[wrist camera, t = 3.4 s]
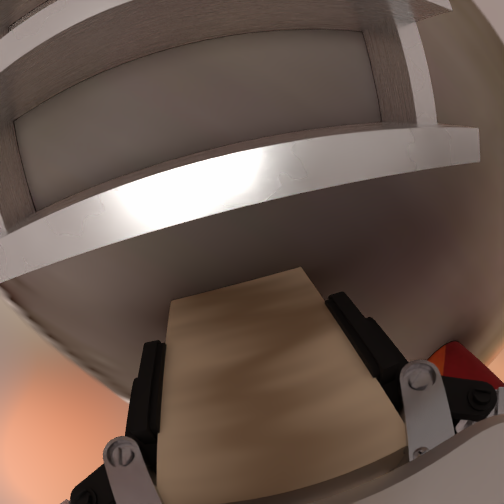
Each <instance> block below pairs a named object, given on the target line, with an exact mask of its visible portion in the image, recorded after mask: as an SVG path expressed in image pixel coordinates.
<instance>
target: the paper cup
mask: <svg viewBox="0 0 504 504" xmlns="http://www.w3.org/2000/svg"><path fill="white" fill-rule="evenodd" d="M427 361H429V362H431V363H433V364H434V365H435V366H436V367H437V368H438V369H439V371H440V374H441V375H442V376H448V377H455V378H462V379H470V380H478V381H484V382H488V383H489V384H491V385H492V386H493V387H494V389H498V388H499V387H504V383H503V382H502V381H501V380H500V379H499V378H498V377H497V376H496V375H495V374H494V373H493V372H491V371H490V370H489V369H488V368H487V367H486V366H485V365H484V364H483V363H482V362H481V361H480V360H479V359H478V358H476V357H475V356H474V355H473V354H472V353H471V352H470V351H469V350H467V349H466V348H465V347H464V346H463V345H461V344H460V343H459V342H457V341H452V342H449V343H447V344H446V345H444V346H443V347H441V348H440V349H439V350H437V351H436V352H435V353H434V354H433V355H432V356H431V357H430V358H429V359H428V360H427Z"/></svg>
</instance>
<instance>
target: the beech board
mask: <svg viewBox="0 0 504 504" xmlns="http://www.w3.org/2000/svg"><path fill="white" fill-rule="evenodd" d="M165 344H166V345H167V346H166V355H165V365H164V376H163V388H162V402H161V419H160V433H158V440H157V489H158V491H159V493H160V495H161V497H162V500H163V502H164V504H308V503H312V502H315V501H318V500H322V499H325V498H328V497H331V496H334V495H337V494H339V493H342V492H345V491H348V490H350V489H353V488H355V487H358V486H360V485H363V484H365V483H367V482H370V481H372V480H374V479H376V478H379V477H381V476H383V475H385V474H387V473H388V472H389V470H391V469H393V468H395V467H396V466H397V465H398V463H399V462H400V461H401V459H402V458H403V456H404V455H405V454H403V450H404V449H405V447H406V434H405V424H404V422H403V420H402V419H401V417H400V416H399V414H398V412H397V411H396V409H395V407H394V406H393V404H392V403H391V401H390V399H389V398H388V396H387V395H386V393H385V392H384V390H383V388H382V387H381V385H380V384H379V382H378V381H377V379H376V377H375V378H373V377H372V375H371V374H370V372H369V371H368V369H367V368H366V366H365V364H364V363H363V361H362V360H361V358H360V357H359V355H358V354H357V352H356V350H355V349H354V347H353V346H352V344H351V343H350V341H349V340H348V338H347V337H346V335H345V334H344V332H343V331H342V329H341V328H340V326H339V325H338V323H337V322H336V320H335V319H334V317H333V316H332V314H331V313H330V311H329V310H328V308H327V307H326V305H325V301H324V299H323V298H322V296H321V295H320V293H319V292H318V291H317V289H316V288H315V286H314V285H313V283H312V282H311V280H310V279H309V278H308V276H307V275H306V273H305V272H304V270H303V269H302V268H301V267H298V268H295V269H291V270H287V271H284V272H280V273H276V274H273V275H269V276H265V277H262V278H258V279H254V280H251V281H247V282H243V283H239V284H235V285H232V286H228V287H224V288H220V289H216V290H212V291H208V292H204V293H200V294H196V295H192V296H188V297H184V298H180V299H176V300H172V301H171V304H170V311H169V318H168V326H167V334H166V342H165Z"/></svg>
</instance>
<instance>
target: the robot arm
mask: <svg viewBox="0 0 504 504" xmlns="http://www.w3.org/2000/svg"><path fill="white" fill-rule="evenodd" d="M325 305H326V307H327V308H328V310H329V311H330V313H331V314H332V316H333V317H334V319H335V320H336V322H337V323H338V325H339V326H340V328H341V329H342V331H343V332H344V334H345V335H346V337H347V338H348V340H349V341H350V343H351V344H352V346H353V347H354V349H355V350H356V352H357V354H358V355H359V357H360V358H361V360H362V361H363V363H364V364H365V366H366V368H367V369H368V371H369V372H370V374H371V375H372V377H373V378H375V377H376V379H377V381H378V382H379V384H380V385H381V387H382V388H383V390H384V392H385V393H386V395H387V396H388V398H389V399H390V401H391V403H392V404H393V406H394V407H395V409H396V411H397V412H398V414H399V416H400V417H401V419H402V420H403V422H404V424H405V434H406V447H405V449H404V450H403V454H405V455H404V456H403V458H402V459H401V461H400V462H399V463H398V465H397V466H396V467H395V468H393V469H391V470H389V472H388V473H387V474H385V475H383V476H381V477H379V478H376V479H374V480H372V481H370V482H367V483H365V484H363V485H360V486H358V487H355V488H353V489H350V490H348V491H345V492H342V493H339V494H337V495H334V496H331V497H328V498H325V499H322V500H318V501H315V502H312V503H308V504H504V387H499V388H498V389H494V387H493V386H492V385H491V384H489V383H488V382H484V381H478V380H470V379H462V378H455V377H448V376H442V375H441V374H440V371H439V369H438V368H437V367H436V366H435V365H434V364H433V363H431V362H429V361H426V360H415V361H411V362H408V361H407V360H406V359H405V357H404V356H403V355H402V354H401V352H400V351H399V350H398V348H397V347H396V346H395V345H394V343H393V342H392V341H391V340H390V338H389V337H388V336H387V335H386V334H385V332H384V331H383V330H382V329H381V327H380V326H379V325H378V324H377V323H376V321H375V320H374V319H373V318H371V317H368V318H365V317H364V316H363V315H362V313H361V312H360V311H359V310H358V309H357V307H356V306H355V305H354V304H353V302H352V301H351V300H350V299H349V297H348V296H347V295H346V294H345V293H344V292H339V293H336V294H333V295H330V296H329V297H328V300H326V301H325ZM166 346H167V345H166V344H165V343H161V342H160V341H159V340H157V341H152V342H147V343H145V344H144V348H143V353H142V358H141V363H140V369H139V374H138V378H135V379H134V382H133V386H132V392H131V398H130V404H129V411H128V417H127V424H126V432H125V436H120V437H116V438H114V439H112V440H111V441H109V442H108V443H107V445H106V447H105V448H104V451H103V460H104V464H103V465H101V466H100V467H99V468H98V469H97V470H95V471H94V472H93V473H92V474H91V475H89V476H88V477H87V478H86V479H84V480H83V481H82V482H81V483H79V484H78V485H77V486H76V487H75V488H74V489H73V490H72V493H71V497H70V501H69V500H67V499H66V500H65V501H63V502H62V503H61V504H164V502H163V500H162V497H161V495H160V493H159V491H158V489H157V440H158V433H160V419H161V402H162V388H163V376H164V365H165V355H166Z"/></svg>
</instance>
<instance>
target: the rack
mask: <svg viewBox="0 0 504 504" xmlns="http://www.w3.org/2000/svg"><path fill="white" fill-rule="evenodd" d="M46 1H47V0H0V283H2V282H4V281H7V280H9V279H12V278H14V277H17V276H20V275H22V274H25V273H28V272H30V271H33V270H36V269H39V268H41V267H44V266H47V265H50V264H52V263H55V262H58V261H61V260H64V259H67V258H70V257H73V256H76V255H79V254H82V253H85V252H88V251H91V250H94V249H97V248H100V247H103V246H106V245H109V244H112V243H116V242H119V241H122V240H125V239H128V238H132V237H135V236H138V235H142V234H145V233H148V232H152V231H155V230H159V229H162V228H166V227H169V226H173V225H176V224H180V223H183V222H187V221H190V220H194V219H198V218H202V217H205V216H209V215H213V214H217V213H220V212H224V211H228V210H232V209H236V208H240V207H244V206H248V205H252V204H256V203H260V202H265V201H269V200H273V199H277V198H282V197H286V196H290V195H295V194H299V193H304V192H308V191H313V190H318V189H322V188H327V187H332V186H337V185H342V184H347V183H352V182H357V181H362V180H367V179H373V178H378V177H384V176H389V175H395V174H401V173H407V172H413V171H419V170H425V169H432V168H438V167H445V166H452V165H460V164H467V163H475V162H480V142H479V128H475V127H468V126H460V125H451V124H441V123H437V117H436V109H435V102H434V96H433V90H432V85H431V79H430V74H429V70H428V65H427V61H426V57H425V53H424V49H423V45H422V42H421V38H420V35H419V31H418V28H417V25H416V22H417V21H420V20H423V19H426V18H429V17H432V16H436V15H439V14H443V13H446V12H450V11H453V10H452V7H451V5H450V2H449V0H58V1H56V2H54V3H53V4H51V5H49V6H48V7H46V8H44V9H43V10H41V11H39V12H38V13H36V14H35V15H33V16H32V17H30V18H29V19H27V20H26V21H24V22H23V23H21V24H20V25H19V26H17V27H16V28H14V29H13V30H12V31H10V32H9V33H8V27H9V26H10V25H12V24H13V23H14V22H16V21H17V20H18V19H20V18H21V17H23V16H24V15H26V14H27V13H28V12H30V11H31V10H33V9H35V8H36V7H38V6H39V5H41V4H42V3H44V2H46ZM289 29H336V30H352V31H362V32H363V35H364V39H365V42H366V46H367V50H368V54H369V58H370V62H371V66H372V70H373V75H374V80H375V84H376V89H377V95H378V100H379V106H380V112H381V118H382V122H375V123H362V124H351V125H341V126H333V127H325V128H317V129H310V130H303V131H297V132H290V133H284V134H279V135H273V136H268V137H263V138H257V139H253V140H248V141H243V142H238V143H234V144H230V145H225V146H221V147H217V148H213V149H209V150H205V151H201V152H197V153H194V154H190V155H186V156H183V157H179V158H176V159H172V160H169V161H166V162H162V163H159V164H156V165H153V166H150V167H147V168H144V169H141V170H138V171H135V172H132V173H129V174H126V175H123V176H120V177H118V178H115V179H112V180H109V181H107V182H104V183H102V184H99V185H96V186H94V187H91V188H89V189H86V190H84V191H82V192H79V193H77V194H74V195H72V196H70V197H67V198H65V199H63V200H61V201H58V202H56V203H54V204H52V205H50V206H48V207H45V208H43V209H41V210H39V211H37V212H36V211H35V208H34V205H33V202H32V199H31V195H30V192H29V189H28V186H27V182H26V178H25V175H24V171H23V167H22V163H21V159H20V155H19V150H18V145H17V140H16V135H15V130H14V124H13V121H15V120H16V119H17V118H19V117H20V116H22V115H23V114H25V113H26V112H28V111H29V110H31V109H33V108H34V107H36V106H37V105H39V104H41V103H42V102H44V101H46V100H47V99H49V98H51V97H53V96H55V95H56V94H58V93H60V92H62V91H64V90H66V89H67V88H69V87H71V86H73V85H75V84H77V83H79V82H81V81H83V80H86V79H88V78H90V77H92V76H94V75H97V74H99V73H101V72H103V71H106V70H108V69H111V68H113V67H116V66H118V65H121V64H123V63H126V62H129V61H132V60H134V59H137V58H140V57H143V56H146V55H149V54H152V53H156V52H159V51H162V50H166V49H169V48H173V47H177V46H181V45H185V44H189V43H193V42H198V41H202V40H207V39H212V38H218V37H223V36H229V35H236V34H243V33H251V32H261V31H272V30H289Z"/></svg>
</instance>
